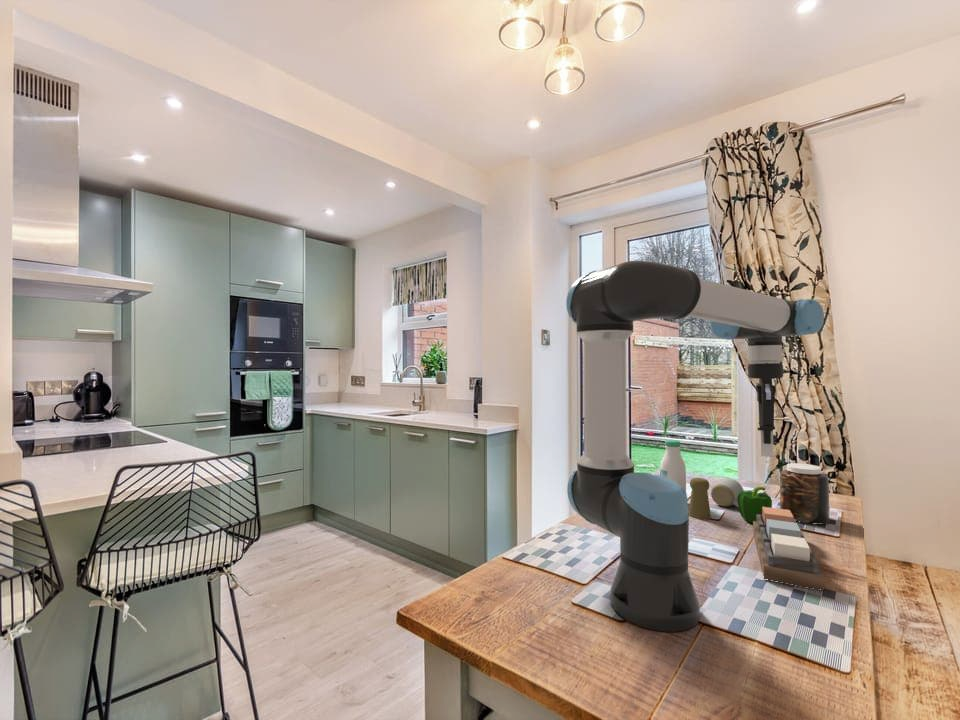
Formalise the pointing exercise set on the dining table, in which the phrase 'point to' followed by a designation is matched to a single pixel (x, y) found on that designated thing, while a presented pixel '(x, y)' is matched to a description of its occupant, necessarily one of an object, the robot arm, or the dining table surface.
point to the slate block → (782, 528)
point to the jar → (805, 493)
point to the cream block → (790, 547)
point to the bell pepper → (753, 503)
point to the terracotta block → (776, 514)
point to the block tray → (785, 562)
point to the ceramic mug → (726, 492)
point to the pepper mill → (699, 499)
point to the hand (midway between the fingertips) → (766, 455)
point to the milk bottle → (673, 463)
